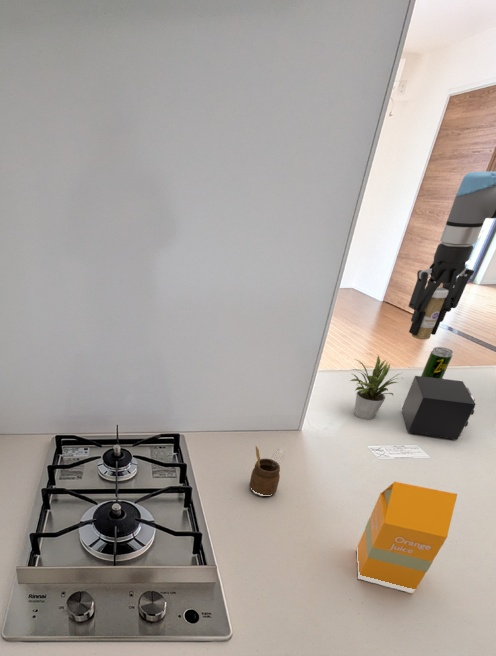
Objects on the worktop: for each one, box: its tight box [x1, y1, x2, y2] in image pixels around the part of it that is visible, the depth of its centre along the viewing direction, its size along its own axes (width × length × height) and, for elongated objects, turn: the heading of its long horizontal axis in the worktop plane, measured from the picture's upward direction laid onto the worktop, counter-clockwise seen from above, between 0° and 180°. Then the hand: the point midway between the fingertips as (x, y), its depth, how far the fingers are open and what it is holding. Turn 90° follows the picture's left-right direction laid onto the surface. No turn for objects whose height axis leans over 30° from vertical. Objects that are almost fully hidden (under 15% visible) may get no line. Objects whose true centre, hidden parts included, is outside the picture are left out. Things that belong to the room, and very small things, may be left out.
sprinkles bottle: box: [411, 286, 449, 340], centre depth 120 cm, size 5×5×14 cm
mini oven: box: [401, 375, 477, 440], centre depth 115 cm, size 12×13×11 cm
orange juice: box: [356, 481, 458, 590], centre depth 74 cm, size 8×9×20 cm
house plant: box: [349, 354, 404, 420], centre depth 120 cm, size 14×14×16 cm
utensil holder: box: [249, 445, 284, 495], centre depth 95 cm, size 6×6×12 cm
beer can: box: [420, 346, 454, 379], centre depth 132 cm, size 5×5×12 cm
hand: (421, 333), depth 123 cm, fingers closed on sprinkles bottle, 4 cm apart
